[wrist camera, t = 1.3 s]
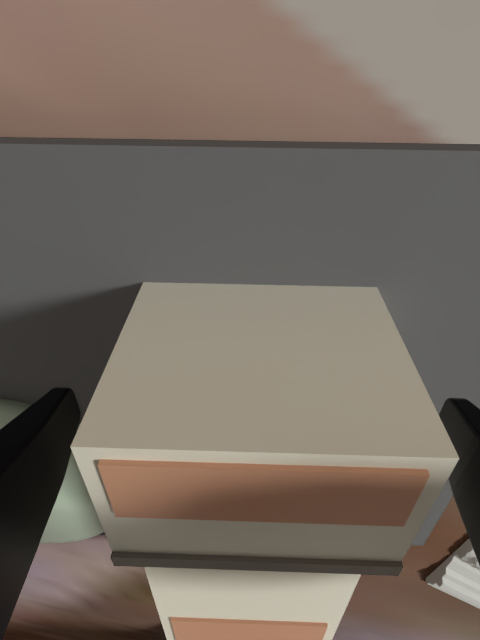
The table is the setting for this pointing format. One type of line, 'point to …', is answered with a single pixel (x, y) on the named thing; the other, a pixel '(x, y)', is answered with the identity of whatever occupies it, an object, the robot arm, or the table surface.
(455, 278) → the mat
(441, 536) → the table surface
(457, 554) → the crown molding
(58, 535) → the coaster
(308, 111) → the table surface
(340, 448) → the cream block
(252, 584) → the cream labeled box
